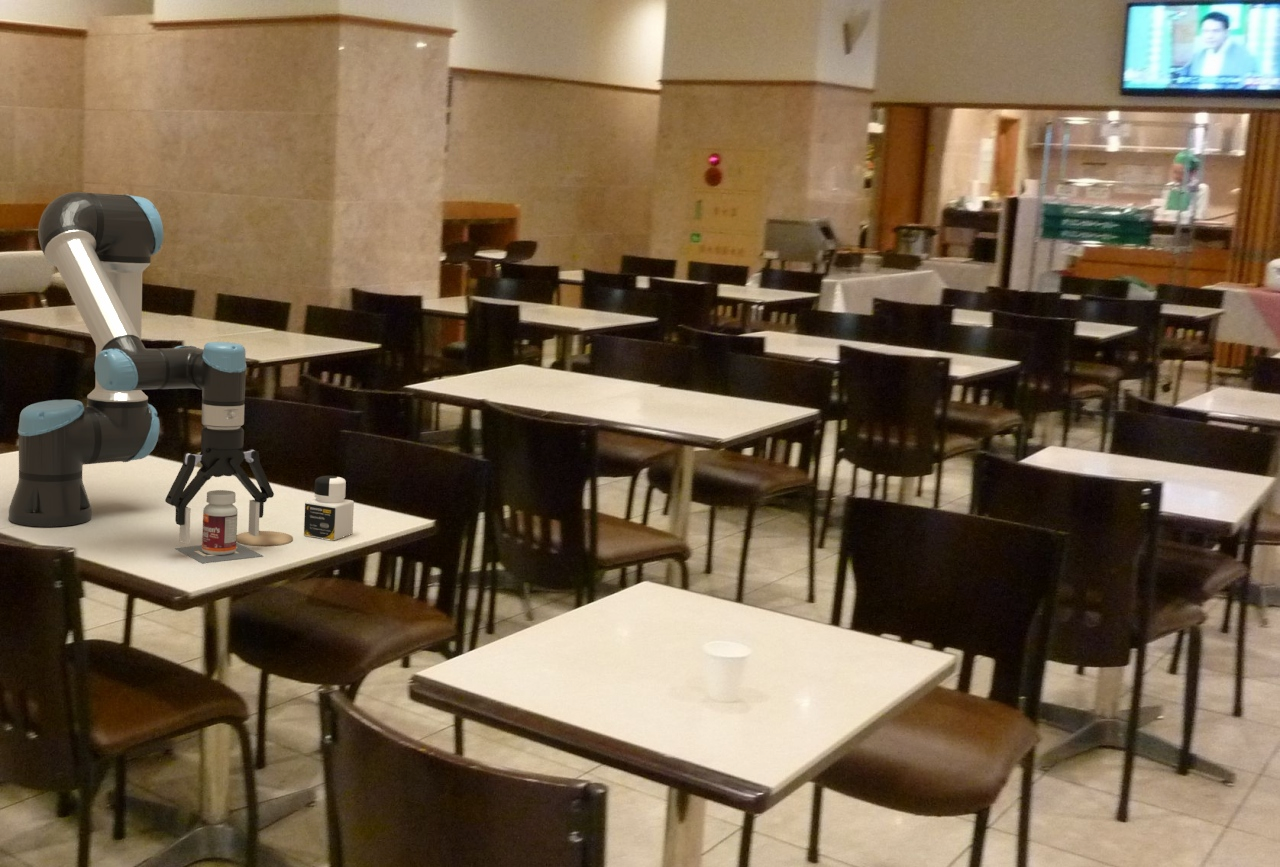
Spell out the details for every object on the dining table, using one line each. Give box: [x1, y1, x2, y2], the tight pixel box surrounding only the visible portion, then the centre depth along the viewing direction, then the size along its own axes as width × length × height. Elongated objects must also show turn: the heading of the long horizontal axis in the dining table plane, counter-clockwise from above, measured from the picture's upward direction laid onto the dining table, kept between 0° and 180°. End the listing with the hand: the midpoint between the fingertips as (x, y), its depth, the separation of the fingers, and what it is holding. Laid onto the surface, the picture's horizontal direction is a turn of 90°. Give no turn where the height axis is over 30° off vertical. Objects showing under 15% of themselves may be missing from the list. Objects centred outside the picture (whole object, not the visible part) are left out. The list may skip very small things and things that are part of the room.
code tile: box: [174, 542, 264, 564], centre depth 258 cm, size 12×12×1 cm
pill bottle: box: [201, 489, 238, 555], centre depth 257 cm, size 6×6×11 cm
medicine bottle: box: [303, 475, 355, 541], centre depth 276 cm, size 7×7×12 cm
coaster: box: [236, 530, 294, 547], centre depth 270 cm, size 11×11×1 cm
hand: (219, 538), depth 257 cm, fingers open, 13 cm apart
